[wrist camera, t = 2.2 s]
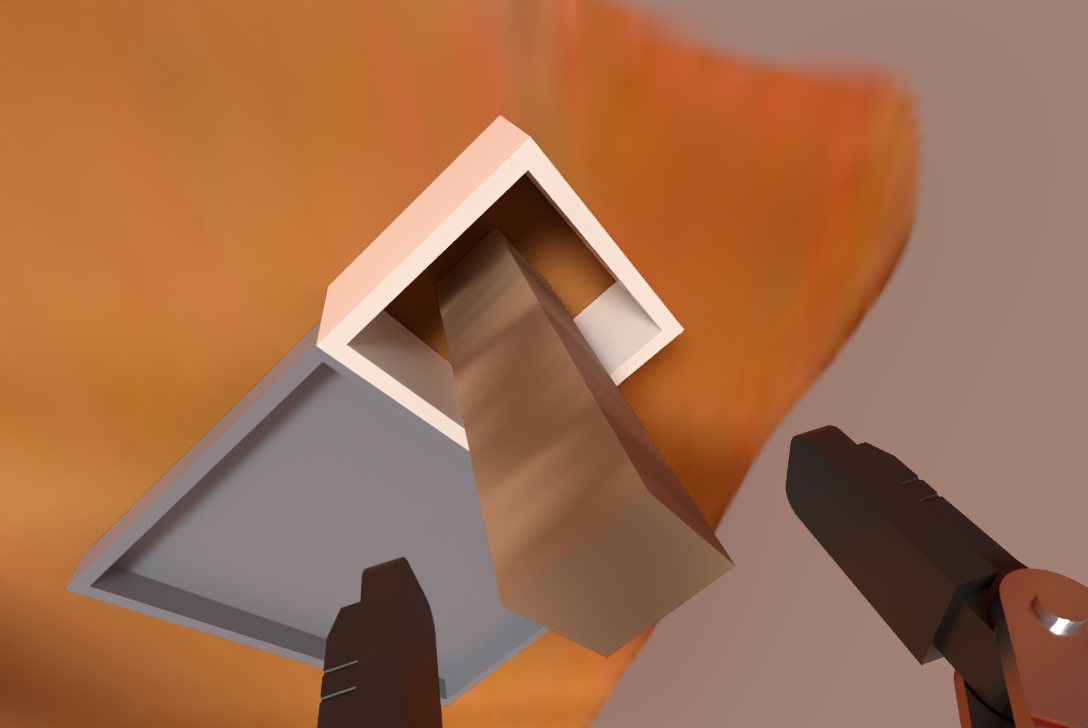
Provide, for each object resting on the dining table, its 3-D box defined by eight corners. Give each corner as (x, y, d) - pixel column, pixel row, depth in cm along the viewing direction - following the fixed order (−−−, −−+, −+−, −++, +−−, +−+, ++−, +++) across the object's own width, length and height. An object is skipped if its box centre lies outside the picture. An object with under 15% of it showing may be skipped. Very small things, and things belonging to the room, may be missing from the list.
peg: (490, 333, 22) (607, 657, 11) (434, 284, 21) (502, 606, 9) (548, 282, 22) (735, 565, 10) (495, 226, 20) (649, 492, 8)
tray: (444, 677, 34) (446, 706, 33) (84, 553, 23) (64, 589, 21) (626, 538, 32) (639, 563, 30) (324, 318, 20) (319, 340, 19)
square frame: (487, 409, 24) (506, 477, 21) (328, 286, 20) (315, 345, 16) (634, 281, 23) (683, 329, 19) (500, 115, 18) (530, 136, 14)
